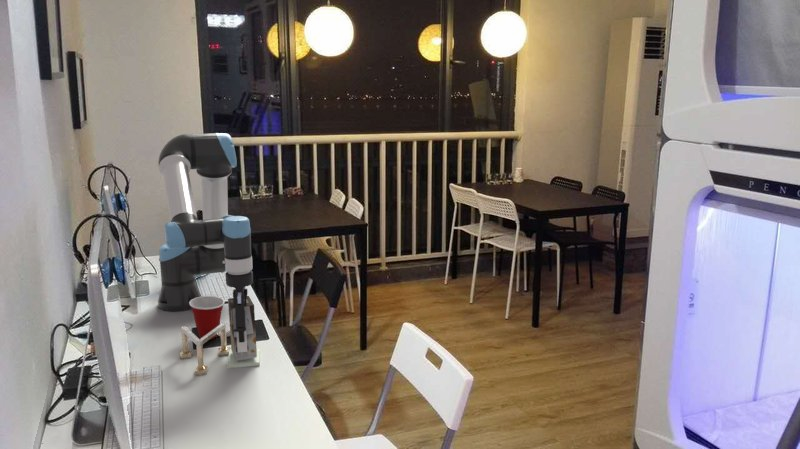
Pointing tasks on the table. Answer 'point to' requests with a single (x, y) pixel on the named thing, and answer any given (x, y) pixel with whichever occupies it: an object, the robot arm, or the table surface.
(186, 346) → the three-legged tripod stand
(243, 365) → the end plate
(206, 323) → the plastic cup
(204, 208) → the robot arm
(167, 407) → the table surface
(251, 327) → the coffee box
